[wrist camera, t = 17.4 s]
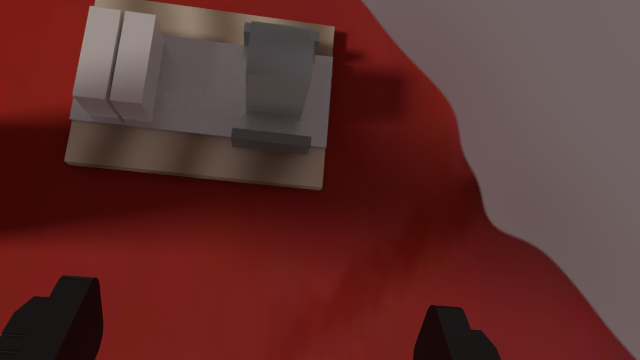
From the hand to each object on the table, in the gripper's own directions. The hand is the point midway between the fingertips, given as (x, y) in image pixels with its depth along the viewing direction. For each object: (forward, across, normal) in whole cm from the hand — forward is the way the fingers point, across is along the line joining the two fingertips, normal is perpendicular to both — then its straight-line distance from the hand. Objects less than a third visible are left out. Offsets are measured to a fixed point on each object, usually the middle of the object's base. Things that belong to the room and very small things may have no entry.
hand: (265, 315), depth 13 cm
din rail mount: (+32, +6, +9) cm, 34 cm away
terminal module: (+31, 0, +7) cm, 32 cm away
